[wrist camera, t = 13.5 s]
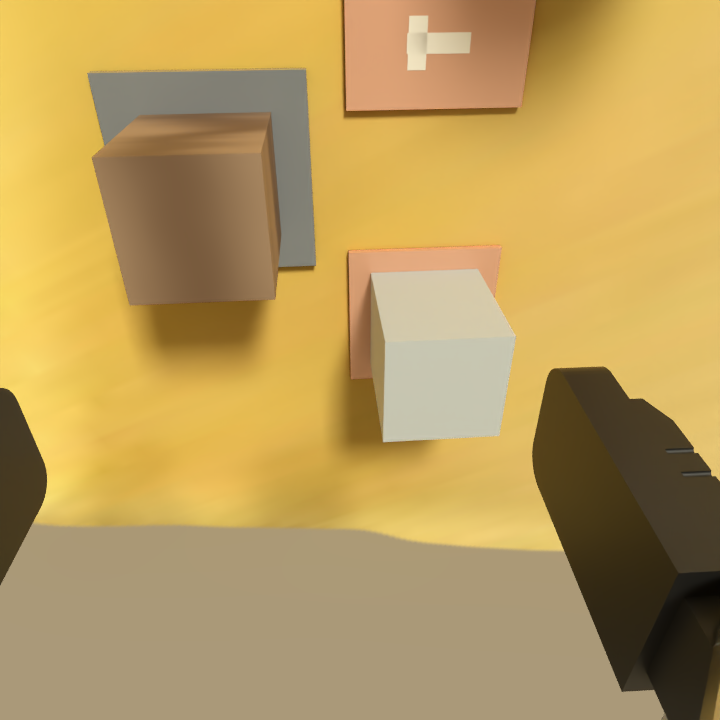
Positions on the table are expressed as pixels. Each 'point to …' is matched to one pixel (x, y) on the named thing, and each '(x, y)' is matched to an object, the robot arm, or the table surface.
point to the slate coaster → (229, 95)
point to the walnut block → (193, 207)
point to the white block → (438, 355)
